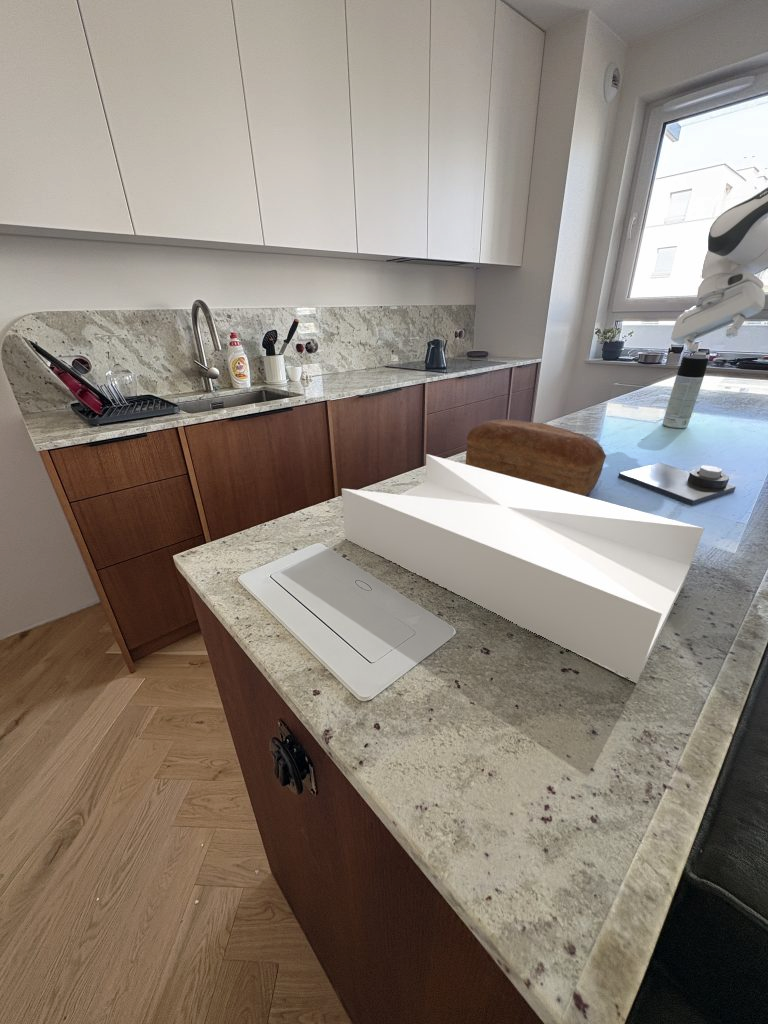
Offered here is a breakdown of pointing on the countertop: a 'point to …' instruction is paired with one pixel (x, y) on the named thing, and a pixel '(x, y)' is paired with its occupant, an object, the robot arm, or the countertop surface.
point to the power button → (710, 472)
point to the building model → (535, 556)
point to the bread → (536, 454)
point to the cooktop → (678, 483)
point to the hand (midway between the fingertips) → (710, 344)
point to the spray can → (685, 391)
